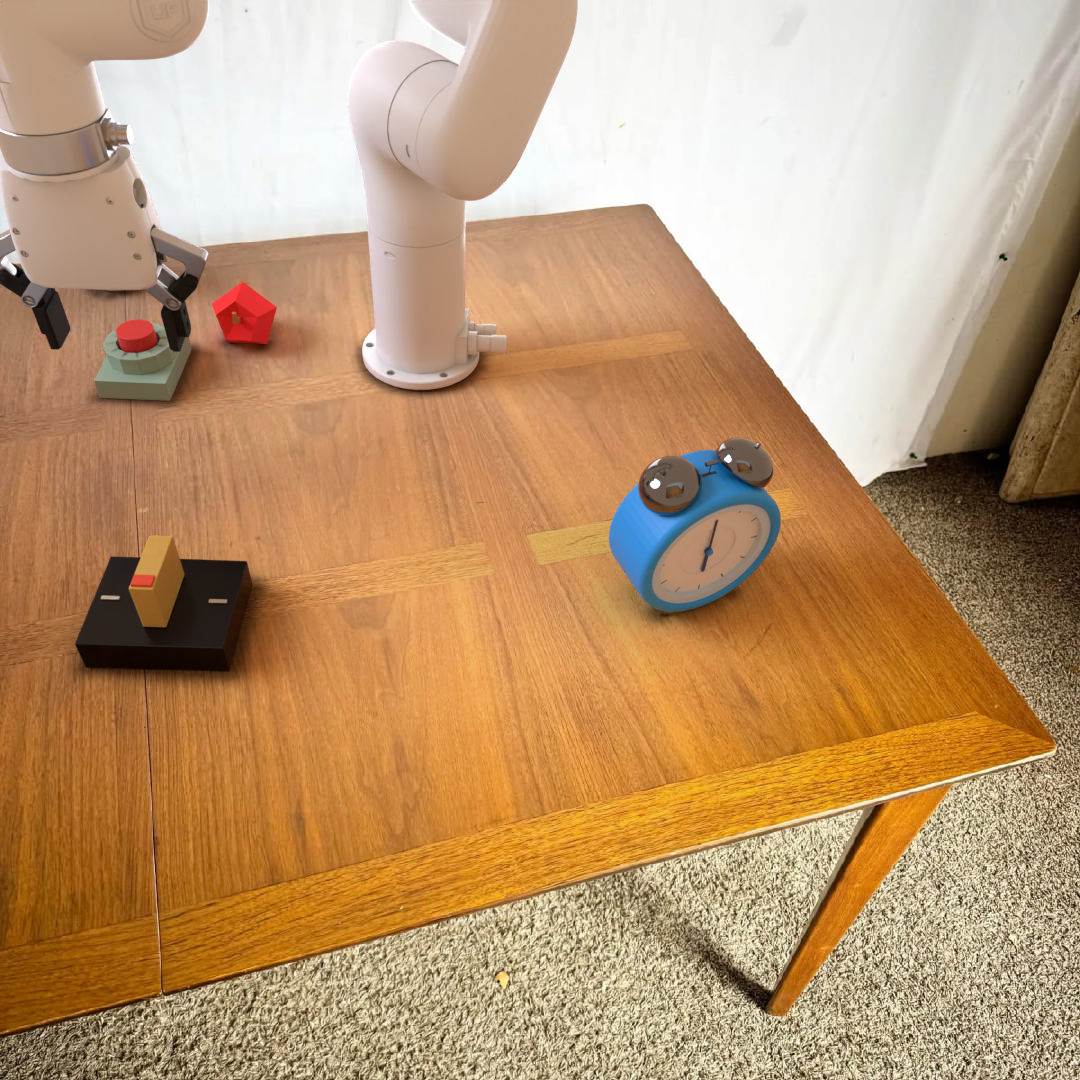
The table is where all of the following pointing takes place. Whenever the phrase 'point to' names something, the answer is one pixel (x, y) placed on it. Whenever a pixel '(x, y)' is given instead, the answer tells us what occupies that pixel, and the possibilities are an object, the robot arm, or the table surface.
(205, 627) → the plate
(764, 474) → the alarm clock
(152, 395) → the block
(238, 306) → the apple
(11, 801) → the table surface
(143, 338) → the bell button
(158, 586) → the lock knob
